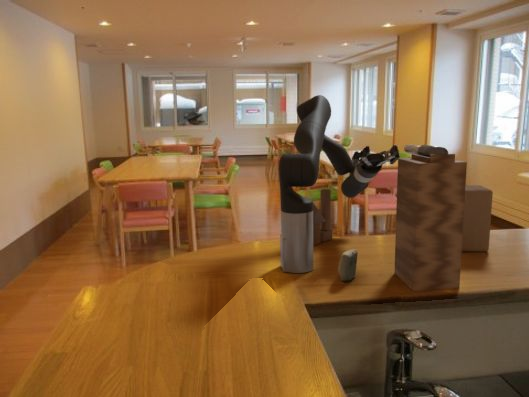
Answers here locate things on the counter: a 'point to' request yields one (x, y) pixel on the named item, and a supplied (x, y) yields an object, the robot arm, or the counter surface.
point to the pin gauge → (425, 150)
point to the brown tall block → (430, 221)
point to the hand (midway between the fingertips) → (382, 148)
